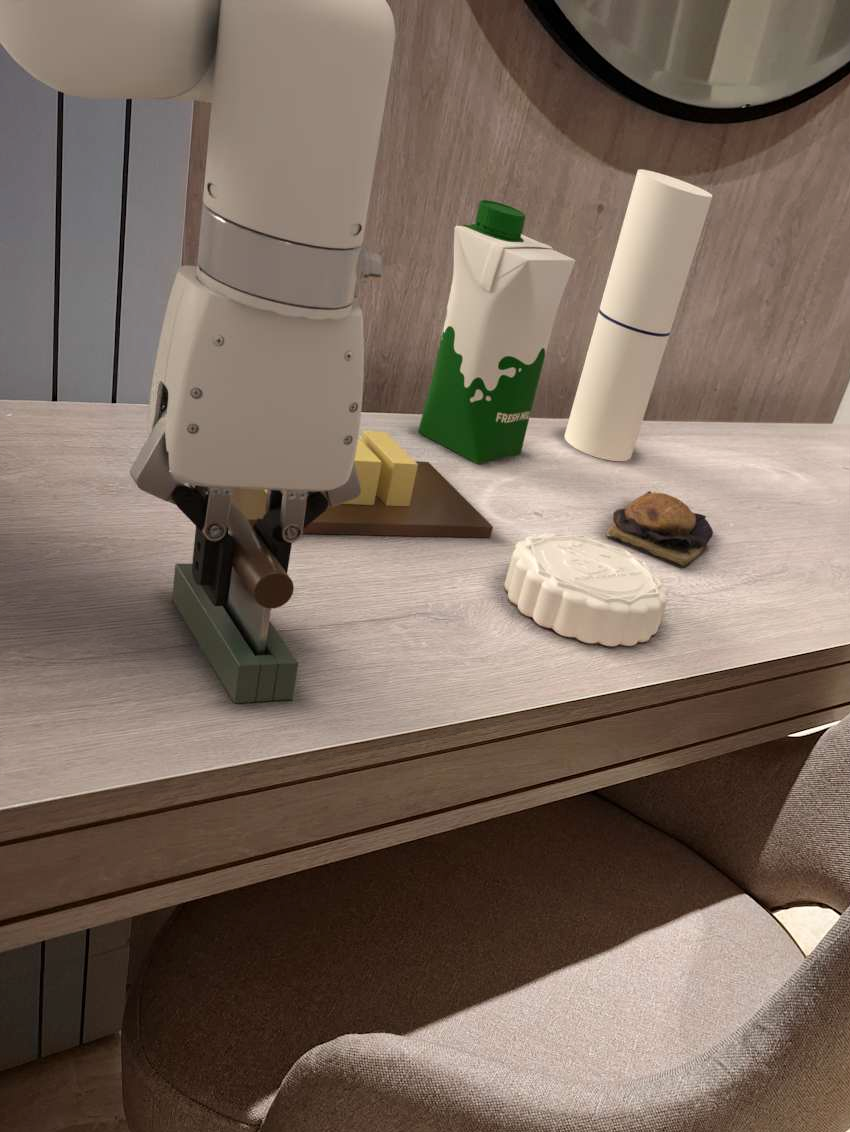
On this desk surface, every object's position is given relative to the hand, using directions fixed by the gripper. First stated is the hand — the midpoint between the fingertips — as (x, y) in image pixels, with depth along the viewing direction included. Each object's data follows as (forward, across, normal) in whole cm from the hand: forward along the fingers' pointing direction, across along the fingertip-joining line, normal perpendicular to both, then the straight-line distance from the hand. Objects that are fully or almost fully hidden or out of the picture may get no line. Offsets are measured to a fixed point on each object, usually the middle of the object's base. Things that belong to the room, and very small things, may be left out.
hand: (237, 591), depth 68 cm
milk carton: (+4, -34, -34) cm, 48 cm away
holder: (+4, 0, 0) cm, 4 cm away
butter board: (+4, -16, -21) cm, 27 cm away
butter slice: (+3, -19, -21) cm, 28 cm away
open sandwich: (+4, -44, -16) cm, 47 cm away
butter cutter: (+4, 0, 0) cm, 4 cm away
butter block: (+3, -13, -21) cm, 25 cm away
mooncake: (+4, -28, -4) cm, 29 cm away
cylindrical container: (+4, -50, -36) cm, 62 cm away
